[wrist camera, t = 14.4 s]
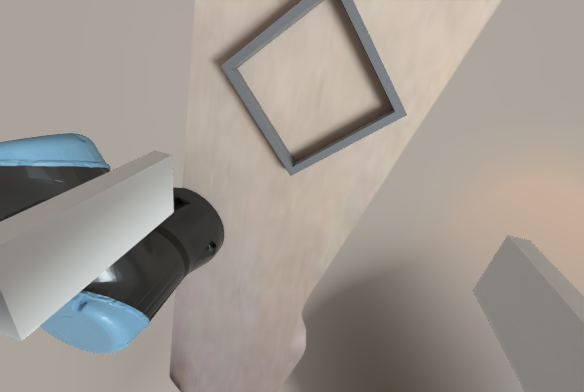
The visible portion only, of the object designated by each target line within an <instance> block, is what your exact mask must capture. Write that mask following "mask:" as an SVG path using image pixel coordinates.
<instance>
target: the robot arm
mask: <svg viewBox="0 0 584 392" xmlns="http://www.w3.org/2000/svg"><path fill="white" fill-rule="evenodd" d="M172 167H173V166H172V155H170V154H166V153H161V152H158V151H153V152H151V153H149V154H147V155H145V156H143V157H141V158H138V159H136V160H134V161H132V162H130V163H127V164H125V165H123V166H121V167H119V168H116V169H115V170H112V171H110V166H109V165H108V164H106V162H105V161H104V159H103V158H102V156H101V154H100V153H99V151H98V150H97V148H96V146H95V145H94V143H93V142H92V141H91V140H90V139H89V138H87V137H85V136H83V135H80V134H73V133H70V134H57V135H47V136H39V137H32V138H25V139H19V140H12V141H6V142H0V334H2V335H5V336H8V337H11V338H14V339H17V340H20V341H22V340H24V339H25V338H26V337H27V336H28V335H30V333H32V332H33V331H34V330H35V329H37V328H38V327H39V326H41V327H42V328H43V329H44V330H45V331H47V332H48V333H49V334H51V335H52V336H54V337H56V338H57V339H59V340H61V341H63V342H65V343H66V344H69V345H71V346H73V347H76V348H79V349H81V350H85V351H89V352H93V353H103V354H104V353H114V352H117V351H120V350H122V349H124V348H125V347H127V346H128V345H129V344H130V343H131V342H132V341H133V340H134V339H135V338H136V337H137V335H138V334H139V333H140V332H141V331H142V330H143V329H144V328H146V327H147V326H148V324H149V322H150V321H151V319H152V318H153V317H154V316H155V314H156V313H157V312H158V310H159V309H160V308H161V307H162V305H163V304H164V303H165V302H166V300H167V299H168V298H169V296H170V295H171V294H172V293H173V291H174V290H175V289H176V288H177V286H178V285H179V284H180V283H181V281H182V280H183V279H184V277H185V276H186V275H187V274H188V273H190V272H192V271H194V270H195V269H197V268H199V267H200V266H202V265H204V264H205V263H207V262H209V261H210V260H211V259H212V258H213V257H214V256H215V255H216V253H217V252H218V251H219V249H220V248H221V246H222V244H223V240H224V229H223V224H222V222H221V219H220V217H219V215H218V214H217V212H216V211H215V209H214V208H213V207H212V206H211V205H210V204H209V203H208V202H207V201H206V200H205V199H204V198H202V197H201V196H199V195H198V194H196V193H194V192H192V191H189V190H186V189H182V188H173V168H172ZM473 292H474V293H475V296H476V297H477V300H478V302H479V303H480V305H481V307H482V309H483V311H484V313H485V315H486V317H487V319H488V321H489V323H490V325H491V327H492V329H493V331H494V333H495V335H496V337H497V339H498V341H499V342H500V344H501V346H502V348H503V350H504V352H505V354H506V356H507V358H508V360H509V362H510V364H511V366H512V368H513V370H514V372H515V374H516V375H517V378H518V380H519V381H520V383H521V386H522V387H523V389H524V391H525V392H584V296H583V295H582V294H581V293H580V292H579V291H578V290H577V289H576V288H575V287H574V286H573V285H572V284H571V283H570V282H569V281H568V280H567V279H566V278H565V277H564V275H563V274H562V273H561V272H560V271H558V269H557V268H556V267H555V266H554V265H553V264H552V263H551V262H550V261H549V260H548V259H547V258H546V257H545V256H544V255H543V254H542V253H541V252H540V251H539V250H538V249H537V248H536V247H535V245H534V244H533V243H532V242H531V241H529V240H525V239H521V238H517V237H513V236H507V237H506V239H505V240H504V242H503V243H502V245H501V247H500V248H499V250H498V251H497V253H496V254H495V256H494V258H493V259H492V261H491V262H490V264H489V265H488V267H487V269H486V270H485V272H484V273H483V275H482V277H481V278H480V280H479V281H478V283H477V285H476V286H475V288H474V289H473Z"/></svg>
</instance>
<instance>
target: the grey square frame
mask: <svg viewBox="0 0 584 392" xmlns="http://www.w3.org/2000/svg"><path fill="white" fill-rule="evenodd" d="M322 1H324V0H301V1H300V2H299V3H298V4H297V5H295V6H294V7H293V8H292V9H290V10H289V11H288V12H287V13H285V14H284V15H283V16H282V17H280V18H279V19H278V20H277V21H276V22H274V23H273V24H272V25H271V26H269V27H268V28H267V29H266V30H264V31H263V32H262V33H261V34H259V35H258V36H257V37H256V38H255V39H253V40H252V41H251V42H250V43H248V44H247V45H246V46H245V47H243V48H242V49H241V50H240V51H239V52H237V53H236V54H235V55H234V56H232V57H231V58H230V59H229V60H227V61H226V62H225V63H224V64H222V65H221V67H222V69H223V71H224V72H225V74H226V75H227V77H228V78H229V80H230V82H231V83H232V85H233V86H234V88H235V89H236V91H237V93H238V94H239V96H240V97H241V99H242V100H243V102H244V104H245V105H246V107H247V108H248V110H249V111H250V113H251V115H252V116H253V118H254V119H255V121H256V122H257V124H258V126H259V127H260V129H261V130H262V132H263V133H264V135H265V137H266V138H267V140H268V141H269V143H270V144H271V146H272V148H273V149H274V151H275V152H276V154H277V155H278V157H279V159H280V160H281V162H282V163H283V165H284V166H285V168H286V170H287V171H288V173H289V174H290V176H291V175H293V174H295V173H297V172H299V171H301V170H303V169H305V168H307V167H308V166H310V165H312V164H314V163H316V162H318V161H320V160H322V159H324V158H326V157H328V156H329V155H331V154H333V153H335V152H337V151H339V150H341V149H343V148H345V147H347V146H349V145H350V144H352V143H354V142H356V141H358V140H360V139H362V138H364V137H366V136H368V135H370V134H371V133H373V132H375V131H377V130H379V129H381V128H383V127H385V126H387V125H389V124H390V123H392V122H394V121H396V120H398V119H400V118H402V117H404V116H406V115H407V114H406V112H405V110H404V108H403V106H402V103H401V101H400V99H399V97H398V95H397V93H396V91H395V89H394V86H393V84H392V82H391V80H390V78H389V76H388V74H387V72H386V69H385V67H384V65H383V63H382V61H381V59H380V57H379V55H378V53H377V50H376V48H375V46H374V44H373V42H372V40H371V38H370V36H369V33H368V31H367V29H366V27H365V25H364V23H363V21H362V19H361V16H360V14H359V12H358V10H357V8H356V6H355V4H354V2H353V0H341V1H342V3H343V5H344V7H345V9H346V11H347V13H348V16H349V18H350V20H351V22H352V24H353V26H354V28H355V30H356V32H357V34H358V36H359V38H360V40H361V43H362V45H363V47H364V49H365V51H366V53H367V55H368V57H369V59H370V61H371V63H372V65H373V67H374V69H375V72H376V74H377V76H378V78H379V80H380V82H381V84H382V86H383V88H384V90H385V92H386V94H387V96H388V99H389V101H390V103H391V105H392V107H393V110H391V111H389V112H387V113H386V114H384V115H382V116H380V117H378V118H376V119H375V120H373V121H371V122H369V123H367V124H365V125H364V126H362V127H360V128H358V129H356V130H354V131H352V132H351V133H349V134H347V135H345V136H343V137H341V138H340V139H338V140H336V141H334V142H332V143H330V144H329V145H327V146H325V147H323V148H321V149H319V150H317V151H316V152H314V153H312V154H310V155H308V156H306V157H305V158H303V159H301V160H299V161H297V162H295V161H294V159H293V158H292V156H291V154H290V153H289V151H288V150H287V148H286V146H285V145H284V143H283V141H282V140H281V138H280V137H279V135H278V133H277V132H276V130H275V129H274V127H273V125H272V124H271V122H270V121H269V119H268V117H267V116H266V114H265V112H264V111H263V109H262V108H261V106H260V104H259V103H258V101H257V100H256V98H255V96H254V95H253V93H252V92H251V90H250V88H249V87H248V85H247V83H246V82H245V80H244V79H243V77H242V75H241V74H240V72H239V71H238V69H237V68H238V67H239V66H240V65H242V64H243V63H244V62H246V61H247V60H248V59H249V58H251V57H252V56H253V55H254V54H256V53H257V52H258V51H260V50H261V49H262V48H263V47H265V46H266V45H267V44H269V43H270V42H271V41H272V40H274V39H275V38H276V37H278V36H279V35H280V34H281V33H283V32H284V31H285V30H286V29H288V28H289V27H290V26H292V25H293V24H294V23H295V22H297V21H298V20H299V19H301V18H302V17H303V16H304V15H306V14H307V13H308V12H310V11H311V10H312V9H313V8H315V7H316V6H317V5H318V4H320V3H321V2H322Z"/></svg>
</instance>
